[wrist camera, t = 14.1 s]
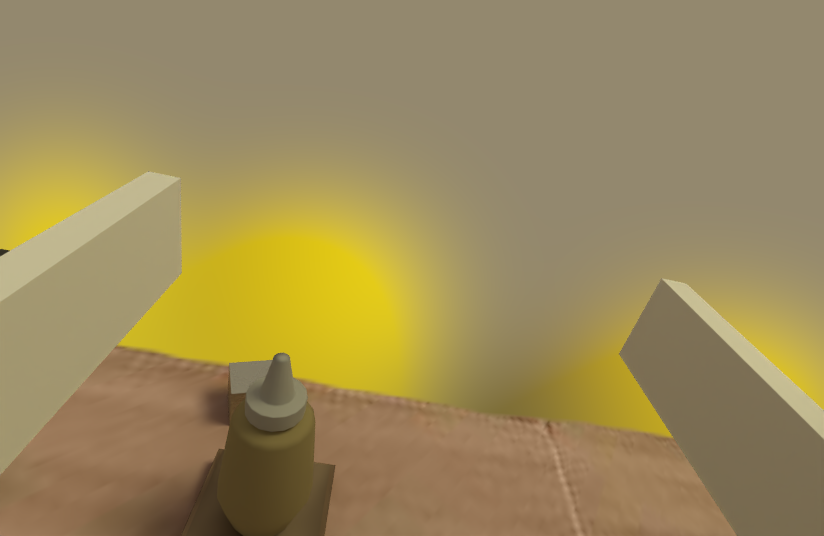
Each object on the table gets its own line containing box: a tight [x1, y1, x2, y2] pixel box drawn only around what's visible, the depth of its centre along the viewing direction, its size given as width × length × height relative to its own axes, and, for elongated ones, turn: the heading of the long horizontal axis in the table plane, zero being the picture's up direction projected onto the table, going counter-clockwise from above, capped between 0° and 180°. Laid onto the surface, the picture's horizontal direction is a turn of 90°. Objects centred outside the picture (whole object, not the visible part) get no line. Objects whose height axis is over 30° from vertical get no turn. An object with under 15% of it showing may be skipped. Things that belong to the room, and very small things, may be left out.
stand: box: [181, 449, 335, 536], centre depth 42 cm, size 12×12×2 cm
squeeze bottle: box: [217, 353, 315, 536], centre depth 38 cm, size 8×8×18 cm
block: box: [228, 360, 272, 426], centre depth 54 cm, size 5×5×5 cm
